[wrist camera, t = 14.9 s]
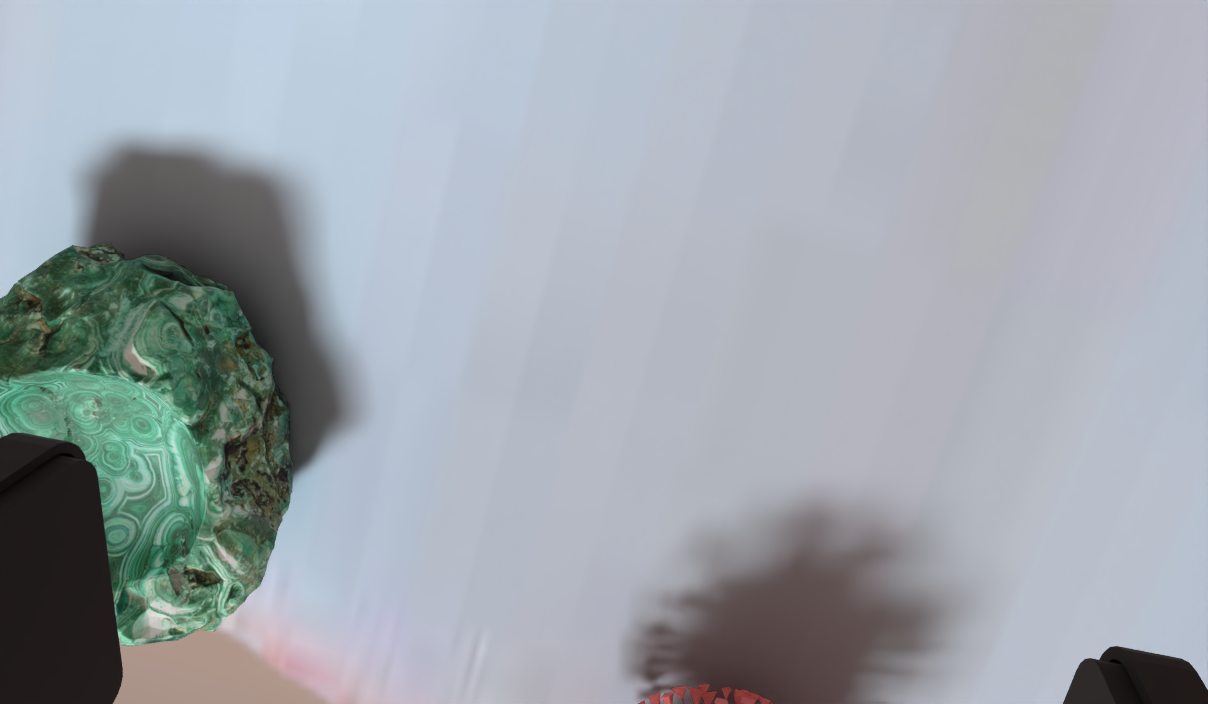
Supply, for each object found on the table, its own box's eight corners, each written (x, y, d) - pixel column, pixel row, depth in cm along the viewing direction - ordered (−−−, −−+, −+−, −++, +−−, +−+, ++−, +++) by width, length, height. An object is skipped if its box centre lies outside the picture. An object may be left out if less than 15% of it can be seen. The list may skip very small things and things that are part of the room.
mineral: (417, 469, 49) (334, 586, 40) (215, 582, 54) (101, 707, 45) (186, 172, 44) (33, 225, 35) (-9, 327, 50) (-184, 408, 41)
